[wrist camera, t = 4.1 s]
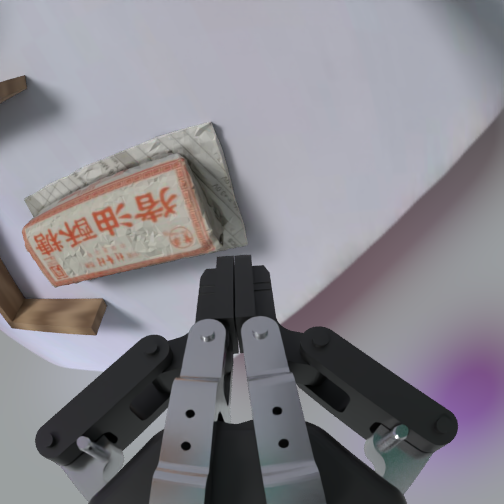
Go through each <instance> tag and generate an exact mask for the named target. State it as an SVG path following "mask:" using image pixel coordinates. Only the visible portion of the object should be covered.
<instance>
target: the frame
mask: <svg viewBox="0 0 504 504" xmlns="http://www.w3.org/2000/svg"><path fill="white" fill-rule="evenodd" d="M25 89H27V85H26V79H25V75H24V76H20V77H17V78H13V79H10V80H6V81H3V82H0V104H1V103H2V102H4V101H6V100H7V99H9V98H11V97H13V96H14V95H16V94H18V93H20V92H22V91H23V90H25ZM106 307H107V305H106V304H105V302H104V300H103V299H25V298H24V296H23V295H22V293H21V292H20V290H19V289H18V287H17V285H16V284H15V282H14V281H13V279H12V277H11V276H10V274H9V272H8V271H7V269H6V267H5V265H4V264H3V262H2V260H1V258H0V313H1V315H2V316H3V317H4V319H5V320H6V321H7V322H8V324H9V325H10V326H11V328H15V329H23V330H32V331H42V332H53V333H66V334H81V335H97V332H98V329H99V326H100V323H101V321H102V318H103V315H104V313H105V310H106Z"/></svg>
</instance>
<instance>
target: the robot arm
mask: <svg viewBox="0 0 504 504" xmlns="http://www.w3.org/2000/svg"><path fill="white" fill-rule="evenodd" d="M238 340H239V348H240V353H244V359H245V368H246V375H247V382H248V390H249V395H250V396H249V397H250V403H251V411H252V418H253V420H250V421H247V422H243V423H240V424H231V415H230V404H231V390H232V389H231V388H232V376H233V354H235V353H239V348H238ZM296 384H297V385H298V387H299V388H301V389H302V390H303V391H304V392H305V393H307V394H308V395H309V396H310V397H311V398H313V399H314V400H315V401H316V402H318V403H319V404H320V405H322V406H323V407H324V408H325V409H326V410H328V411H329V412H330V413H331V414H333V415H334V416H335V417H337V418H338V419H339V420H341V421H342V422H343V423H345V424H346V425H347V426H348V427H350V428H351V429H352V430H354V431H355V432H356V433H358V434H359V435H360V436H362V437H363V438H364V439H366V442H365V445H364V451H365V455H366V457H367V458H368V459H369V460H370V461H371V462H372V464H373V465H374V468H375V471H374V470H372V469H371V468H370V467H368V466H367V465H366V464H365V463H363V462H362V461H361V460H360V459H358V458H357V457H356V456H355V455H353V454H352V453H351V452H350V451H349V450H347V449H346V448H345V447H344V446H342V445H341V444H340V443H339V442H338V441H336V440H335V439H334V438H333V437H332V436H331V435H329V434H328V433H327V432H326V431H324V430H323V429H321V428H320V427H318V426H316V425H314V424H311V423H309V422H305V420H304V416H303V411H302V407H301V403H300V399H299V395H298V391H297V387H296ZM166 408H168V411H167V416H166V422H165V428H164V429H163V430H162V431H160V432H158V433H157V434H156V435H154V436H153V437H152V438H151V439H150V440H149V441H148V442H147V443H146V444H145V446H144V447H143V448H142V449H141V450H140V451H139V452H138V453H137V454H136V455H135V456H134V457H133V458H132V459H131V460H130V461H129V462H128V463H127V464H126V465H125V466H124V467H123V468H122V469H121V470H120V468H121V467H122V466H123V462H124V455H123V452H122V451H123V450H124V449H125V448H126V447H127V446H128V445H129V444H131V443H132V442H133V441H134V440H135V439H136V438H137V437H138V436H139V435H140V434H141V433H142V432H143V431H144V430H145V429H146V428H147V427H148V426H149V425H150V424H151V423H152V422H153V421H154V420H155V419H156V418H158V417H159V416H160V415H161V414H162V412H164V411H165V410H166ZM457 430H458V423H457V419H456V417H455V416H454V414H453V413H452V412H451V411H449V410H447V409H446V408H445V407H443V406H442V405H440V404H438V403H437V402H436V401H434V400H433V399H431V398H430V397H428V396H427V395H425V394H424V393H422V392H421V391H419V390H418V389H416V388H415V387H413V386H412V385H410V384H409V383H407V382H406V381H404V380H403V379H401V378H400V377H398V376H397V375H395V374H394V373H393V372H391V371H390V370H388V369H387V368H385V367H384V366H382V365H381V364H380V363H378V362H377V361H375V360H373V359H372V358H371V357H369V356H368V355H366V354H365V353H364V352H362V351H361V350H359V349H358V348H356V347H355V346H353V345H352V344H351V343H349V342H348V341H346V340H345V339H343V338H342V337H340V336H339V335H338V334H336V333H335V332H333V331H332V330H330V329H328V328H325V327H312V328H310V329H308V330H306V331H305V332H304V333H300V332H294V331H290V330H288V329H286V328H284V327H282V326H281V325H280V324H279V322H278V321H277V319H276V314H275V307H274V300H273V293H272V287H271V280H270V273H269V272H268V270H267V269H266V268H265V266H264V265H261V266H252V262H251V255H238V256H235V264H234V256H223V257H217V265H216V268H215V269H206V270H205V272H204V273H203V274H202V276H201V278H200V288H199V295H198V303H197V312H196V321H195V324H194V325H193V326H192V327H191V329H190V330H189V333H187V334H186V335H184V336H182V337H180V338H176V339H173V340H170V341H167V340H166V339H165V338H164V337H162V336H160V335H149V336H146V337H144V338H142V339H141V340H140V341H138V342H137V343H136V344H135V345H134V346H133V347H132V348H130V349H129V350H128V351H127V352H126V353H125V354H124V355H122V356H121V357H120V358H119V359H118V360H117V361H116V362H114V363H113V364H112V365H111V366H110V367H109V368H108V369H106V370H105V371H104V372H103V373H102V374H101V375H100V376H98V377H97V378H96V379H95V380H94V381H93V382H92V383H90V385H88V386H87V387H86V388H85V389H84V390H83V391H82V392H80V393H79V394H78V395H77V396H76V397H75V398H73V400H71V401H70V402H69V403H68V404H67V405H66V406H64V407H63V408H62V409H61V410H60V411H59V412H58V413H57V414H55V415H54V416H53V417H52V418H51V419H50V420H49V421H48V422H46V423H45V424H44V425H43V426H42V427H41V428H40V429H39V430H38V432H37V434H36V439H35V443H36V447H37V450H38V451H39V453H40V454H41V455H42V456H44V457H45V458H47V459H49V460H51V461H53V462H55V463H56V464H58V465H59V466H61V468H62V469H63V470H64V472H65V473H66V474H67V476H68V477H69V478H70V480H71V481H72V482H73V484H74V485H75V486H76V488H77V489H78V490H79V491H80V493H81V494H82V495H83V496H84V497H85V499H86V500H87V501H88V502H89V503H88V504H407V502H406V499H405V497H404V493H405V492H406V491H407V490H408V488H409V487H410V486H411V484H412V483H413V482H414V480H415V479H416V477H417V476H418V475H419V473H420V472H421V470H422V469H423V467H424V466H425V464H426V463H427V461H428V460H429V458H430V457H431V455H432V454H433V453H434V452H435V451H436V450H438V449H440V448H442V447H443V446H445V445H446V444H448V443H450V442H451V441H452V440H453V439H454V437H455V436H456V434H457ZM119 470H120V471H119ZM118 471H119V472H118Z"/></svg>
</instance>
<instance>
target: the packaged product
mask: <svg viewBox="0 0 504 504" xmlns="http://www.w3.org/2000/svg"><path fill="white" fill-rule="evenodd" d="M24 201H25V202H26V204H27V206H28V208H29V210H30V211H31V213H32V215H33V217H34V218H32V219H31V220H30V221H29V223H28V224H26V225H25V226H24V228H23V230H22V234H23V238H24V241H25V247H26V249H27V251H28V252H30V254H31V256H32V258H33V259H34V260H35V261H36V263H37V265H38V266H39V268H40V270H41V271H42V273H43V274H44V275H45V276H46V278H47V279H48V280H49V282H50V283H51V284H52V286H54V287H55V288H56V287H58V286H62V285H69V284H72V283H79V282H81V281H84V280H85V281H86V280H92V279H95V278H98V277H103V276H107V275H112V274H115V273H121V272H125V271H129V270H136V269H140V268H143V267H147V266H153V265H157V264H162V263H166V262H171V261H175V260H178V259H184V258H191V257H195V256H200V255H204V254H209V253H214V252H218V251H224V250H227V249H231V248H236V247H242V246H246V245H248V242H247V237H246V231H245V226H244V222H243V219H242V216H241V214H240V211H239V208H238V205H237V202H236V200H235V196H234V191H233V187H232V182H231V178H230V175H229V171H228V168H227V164H226V160H225V157H224V153H223V149H222V147H221V144H220V142H219V139H218V137H217V135H216V132H215V130H214V127H213V125H212V123H211V122H207V123H203V124H200V125H196V126H192V127H188V128H184V129H181V130H178V131H174V132H171V133H168V134H165V135H161V136H158V137H155V138H153V139H151V140H148V141H146V142H144V143H142V144H139V145H137V146H134V147H132V148H129V149H126V150H124V151H121V152H119V153H116V154H114V155H112V156H109V157H107V158H105V159H102V160H100V161H97V162H94V163H91V164H88V165H86V166H84V167H83V168H80V169H78V170H76V171H75V172H73V173H72V174H70V175H69V176H67V177H63V178H61V179H59V180H57V181H55V182H52V183H50V184H49V185H47V186H45V187H44V188H42V189H41V190H39V191H38V192H36V193H35V194H33V195H31V196H28V197H26V198H25V200H24Z"/></svg>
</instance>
